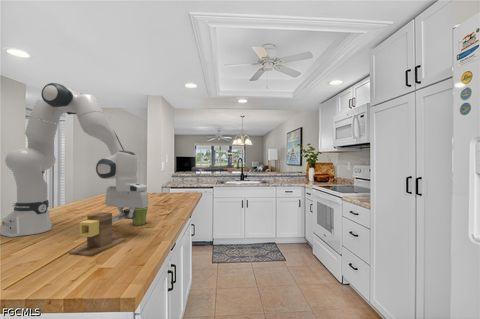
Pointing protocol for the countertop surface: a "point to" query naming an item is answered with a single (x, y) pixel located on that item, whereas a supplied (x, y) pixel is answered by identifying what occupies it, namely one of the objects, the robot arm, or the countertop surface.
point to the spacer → (89, 228)
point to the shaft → (123, 216)
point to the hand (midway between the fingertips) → (126, 217)
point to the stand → (99, 236)
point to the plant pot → (140, 216)
